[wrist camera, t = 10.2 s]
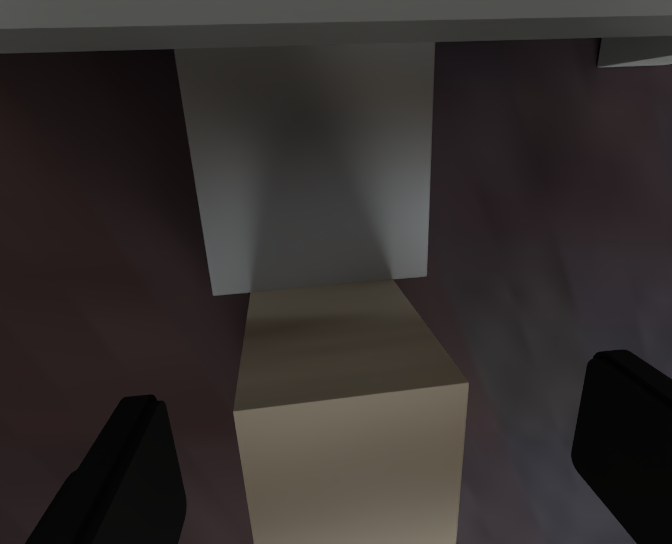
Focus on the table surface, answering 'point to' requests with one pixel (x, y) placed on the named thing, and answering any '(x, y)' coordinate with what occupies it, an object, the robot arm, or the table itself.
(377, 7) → the low shelf
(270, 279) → the scraper
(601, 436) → the robot arm
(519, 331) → the table surface
